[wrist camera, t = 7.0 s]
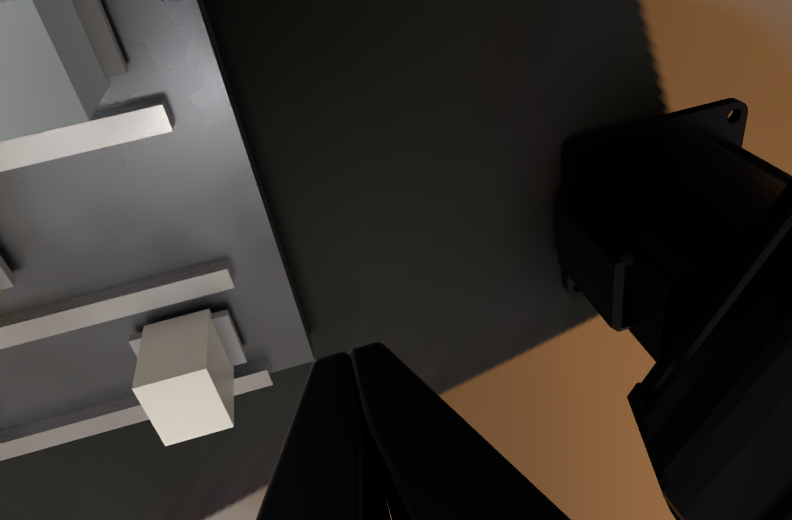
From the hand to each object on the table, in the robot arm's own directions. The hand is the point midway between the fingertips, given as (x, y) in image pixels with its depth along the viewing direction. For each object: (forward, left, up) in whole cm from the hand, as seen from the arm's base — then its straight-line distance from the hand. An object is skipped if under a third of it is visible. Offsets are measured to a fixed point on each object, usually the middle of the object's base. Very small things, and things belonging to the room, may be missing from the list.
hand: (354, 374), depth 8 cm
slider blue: (+5, -3, -10) cm, 12 cm away
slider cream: (+5, +7, -10) cm, 13 cm away
